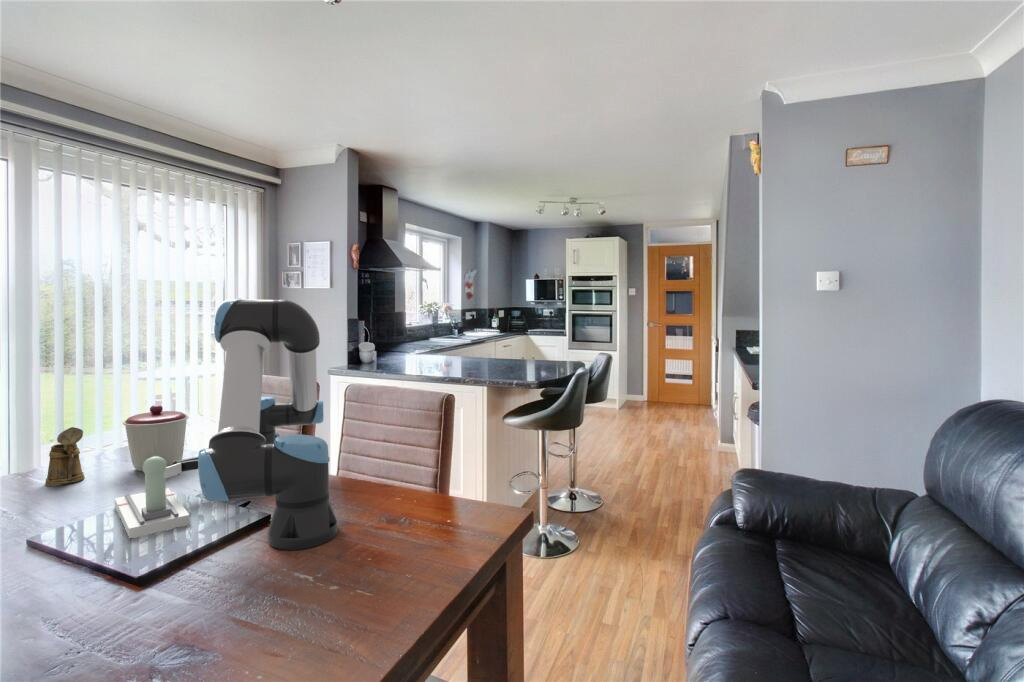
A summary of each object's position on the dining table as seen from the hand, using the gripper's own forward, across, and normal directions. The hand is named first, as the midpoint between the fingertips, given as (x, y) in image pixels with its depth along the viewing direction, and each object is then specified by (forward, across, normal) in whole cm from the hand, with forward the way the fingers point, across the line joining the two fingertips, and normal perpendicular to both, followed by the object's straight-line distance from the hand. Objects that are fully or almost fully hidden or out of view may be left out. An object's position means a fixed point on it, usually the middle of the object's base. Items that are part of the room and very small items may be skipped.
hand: (181, 477), depth 134 cm
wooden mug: (-12, +53, -10) cm, 55 cm away
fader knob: (+8, 0, -7) cm, 10 cm away
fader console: (+3, +6, -9) cm, 12 cm away
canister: (-31, +40, -10) cm, 51 cm away
